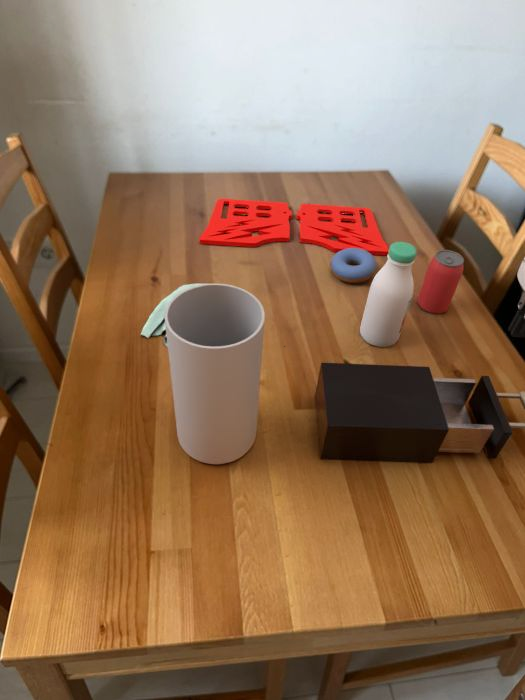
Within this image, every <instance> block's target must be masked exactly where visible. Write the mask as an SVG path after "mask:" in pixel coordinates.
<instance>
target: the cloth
mask: <svg viewBox="0 0 525 700" xmlns="http://www.w3.org/2000/svg"><path fill="white" fill-rule="evenodd" d="M203 284H209V283H190V284H189V283H188V284H182V285H181V286H178V287H177V289H175V290H173V291H172V292H171V293H170V294H169V295H168V296H166V297H165V298H163V299H161V301H159V303H158V304H157V306H156V307H155V308H154V310H153V311H152V312H151V314H150V315H149V317H148V318H147V320H146V323H145V324H144V326H143V328H142V330H141V332H140V336H142V337H146V338H147V339H150V337H158V336H162V334H163V332H164V331H166V325H165V310H166V307H167V305H168V304H169V302H170V301H171V300H172V299H173V298H174V297H175V296H176V295H177V294H179V293H180V292H182V291H184V290H186V289H188V288H191V287H194V286H198V285H203ZM163 344H164V346H165V347H166V348H168V344H167V335H166V334H165V335H164V338H163Z"/></svg>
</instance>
